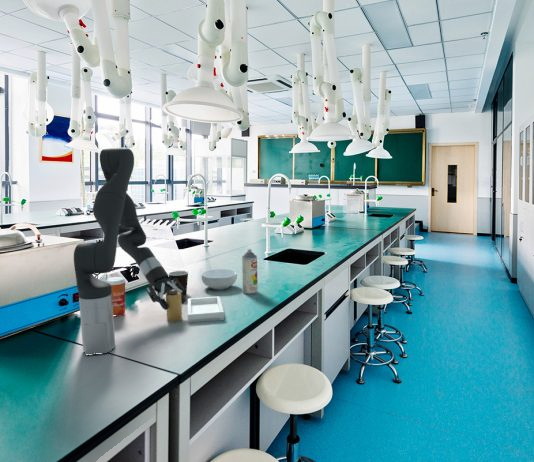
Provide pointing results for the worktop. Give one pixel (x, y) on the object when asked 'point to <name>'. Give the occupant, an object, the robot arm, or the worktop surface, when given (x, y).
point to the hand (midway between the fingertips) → (176, 305)
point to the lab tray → (205, 309)
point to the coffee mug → (180, 279)
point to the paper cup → (117, 294)
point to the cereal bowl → (219, 278)
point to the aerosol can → (249, 273)
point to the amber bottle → (174, 306)
